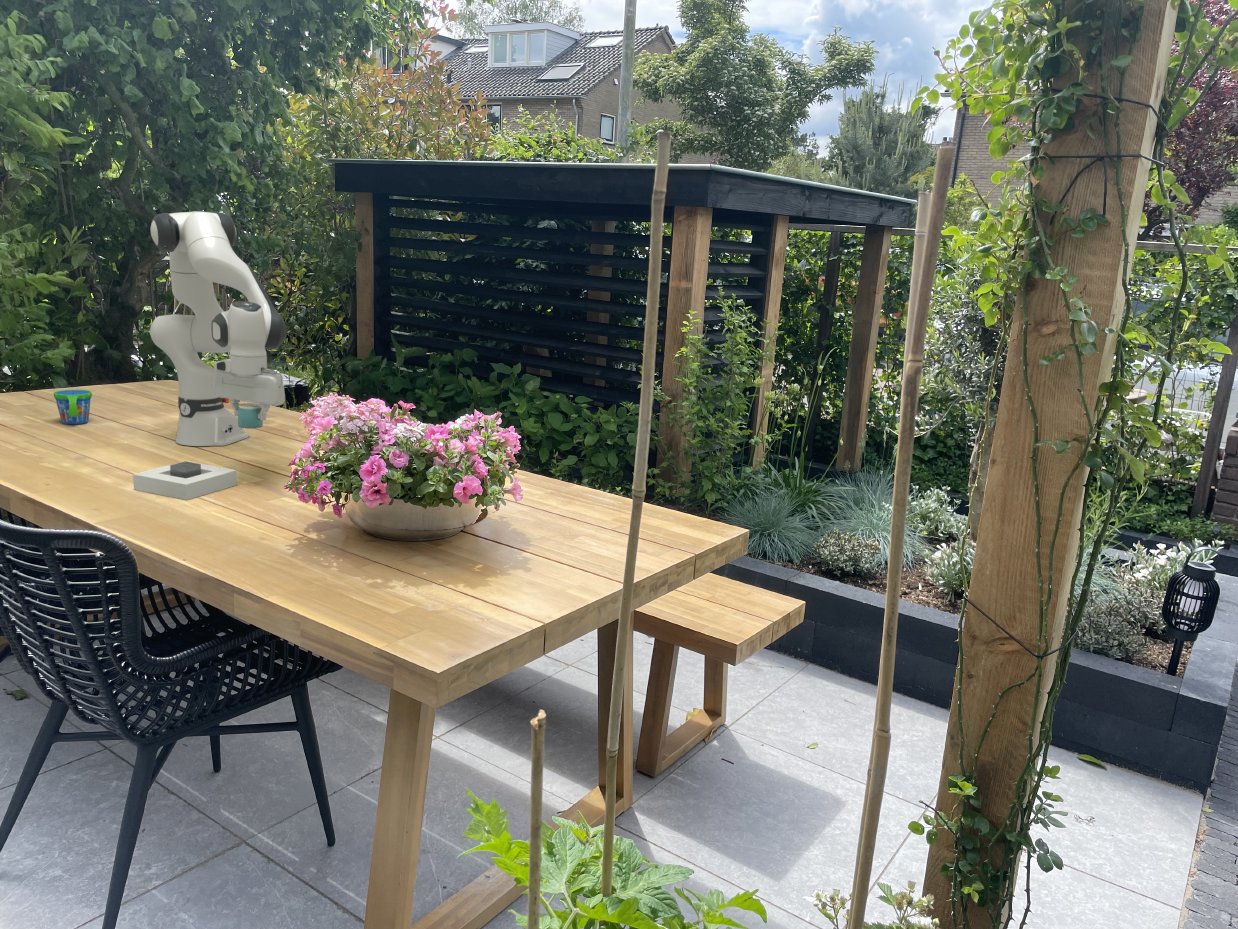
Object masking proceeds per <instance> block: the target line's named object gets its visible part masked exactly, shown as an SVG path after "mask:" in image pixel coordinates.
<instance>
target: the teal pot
mask: <svg viewBox="0 0 1238 929" xmlns="http://www.w3.org/2000/svg"><path fill="white" fill-rule="evenodd" d="M261 409H262V408H260V404H259V403H253V402H247V403H246V402H245V403H239V407H238V416H237V417H238V427H240V428H242V429H251V430H252V429H259V428H262V427H264V424H263V423H264V422H263V421H264V420H263V421H262V420H258V419H257V413H260V411H261Z"/></svg>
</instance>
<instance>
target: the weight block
mask: <svg viewBox="0 0 1238 929" xmlns="http://www.w3.org/2000/svg"><path fill="white" fill-rule="evenodd" d="M192 462H193V461H189V462H187V460H185V462H184V461H181V463H180V462H176V463H177V464H176V463H172V464H173V465H172V464H169V465H170V472H171V476H175V477H180V478H190V477H194V476H197V475H201V464H202V463H200V464H198V462H194V463H192Z"/></svg>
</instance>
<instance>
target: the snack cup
mask: <svg viewBox="0 0 1238 929" xmlns="http://www.w3.org/2000/svg"><path fill="white" fill-rule="evenodd" d="M53 397H54V399H55V401H56V406H57V410H58V413H59V414H58V415H59V418H60V420H61V423H63V425H81V424H83V425H84V424H87V423H88V422H89V419H90V412H91V410H90V409H91V399H92V397H93V392H92V391H90V390H86V389H65V390H62V389H61V390H57V391H54V392H53Z"/></svg>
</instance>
